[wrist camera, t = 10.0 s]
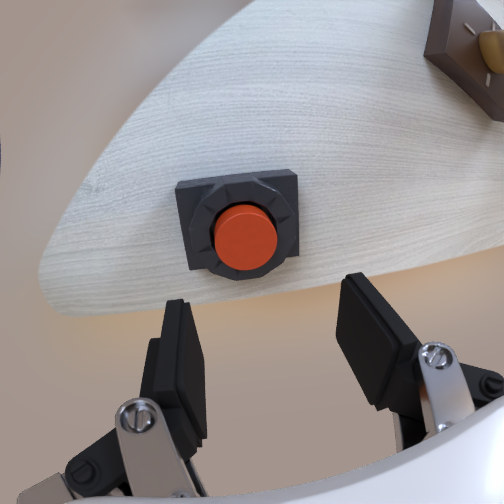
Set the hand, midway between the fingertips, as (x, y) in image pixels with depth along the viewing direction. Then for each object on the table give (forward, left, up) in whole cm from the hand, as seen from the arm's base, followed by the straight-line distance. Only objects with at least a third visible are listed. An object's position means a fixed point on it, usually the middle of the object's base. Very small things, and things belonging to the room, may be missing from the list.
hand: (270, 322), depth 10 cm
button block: (0, 0, -12) cm, 12 cm away
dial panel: (+17, +24, -12) cm, 32 cm away
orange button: (0, 0, -9) cm, 9 cm away
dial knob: (+17, +24, -9) cm, 30 cm away
